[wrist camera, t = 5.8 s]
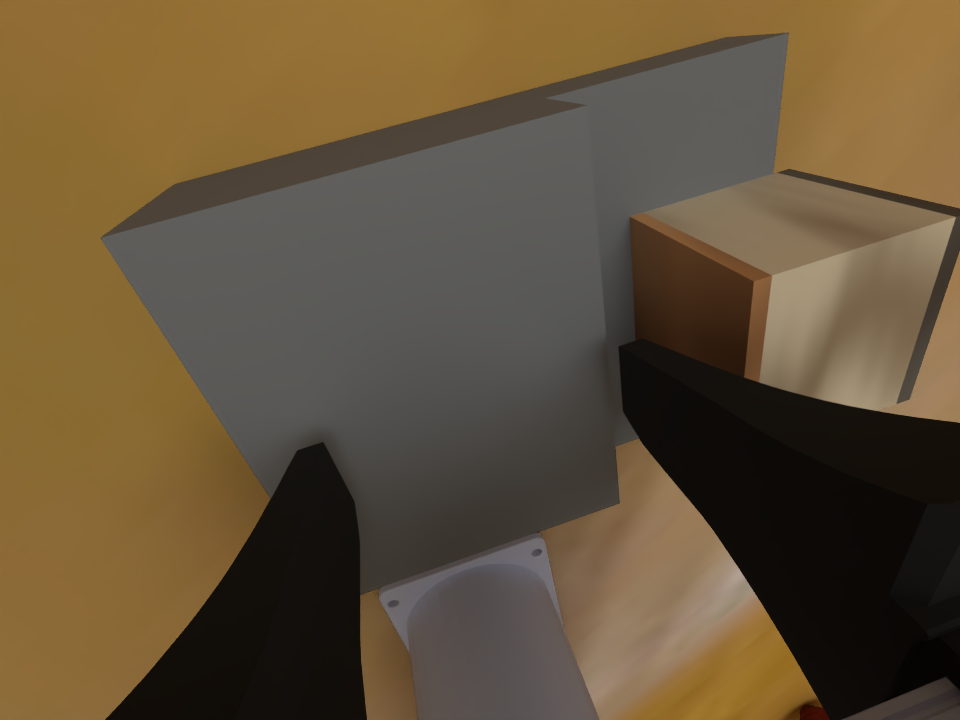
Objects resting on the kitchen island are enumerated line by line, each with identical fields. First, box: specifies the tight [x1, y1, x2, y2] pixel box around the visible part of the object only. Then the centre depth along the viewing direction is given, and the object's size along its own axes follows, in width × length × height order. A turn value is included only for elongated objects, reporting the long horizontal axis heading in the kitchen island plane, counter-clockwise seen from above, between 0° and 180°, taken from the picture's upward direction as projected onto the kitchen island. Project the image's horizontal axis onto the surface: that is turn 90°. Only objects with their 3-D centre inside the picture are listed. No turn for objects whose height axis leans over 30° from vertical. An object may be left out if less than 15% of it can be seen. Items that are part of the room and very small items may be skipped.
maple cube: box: [630, 169, 960, 411], centre depth 13 cm, size 5×5×5 cm
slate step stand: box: [101, 33, 789, 595], centre depth 15 cm, size 12×16×5 cm
